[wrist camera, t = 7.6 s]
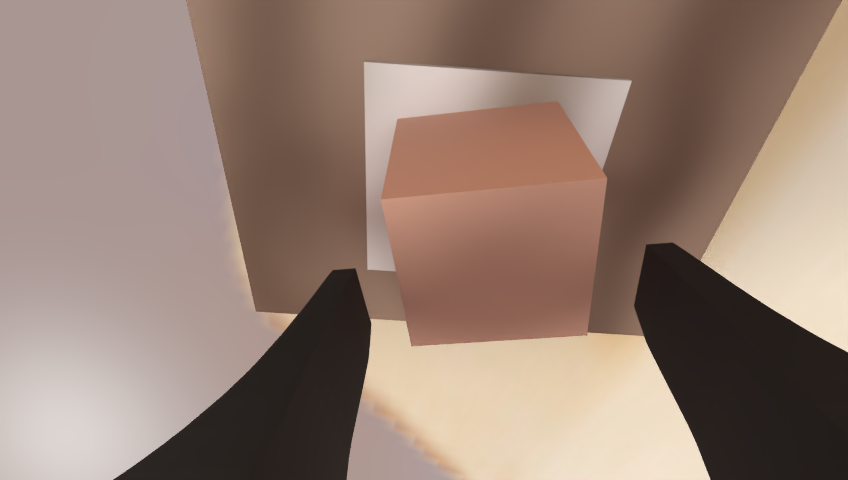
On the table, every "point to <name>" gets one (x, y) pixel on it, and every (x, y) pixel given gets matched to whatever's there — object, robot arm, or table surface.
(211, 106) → the walnut plinth
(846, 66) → the table surface
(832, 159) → the table surface
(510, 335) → the terracotta cube
